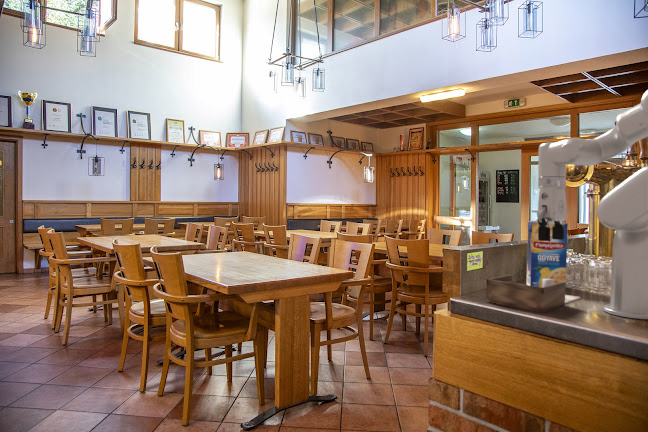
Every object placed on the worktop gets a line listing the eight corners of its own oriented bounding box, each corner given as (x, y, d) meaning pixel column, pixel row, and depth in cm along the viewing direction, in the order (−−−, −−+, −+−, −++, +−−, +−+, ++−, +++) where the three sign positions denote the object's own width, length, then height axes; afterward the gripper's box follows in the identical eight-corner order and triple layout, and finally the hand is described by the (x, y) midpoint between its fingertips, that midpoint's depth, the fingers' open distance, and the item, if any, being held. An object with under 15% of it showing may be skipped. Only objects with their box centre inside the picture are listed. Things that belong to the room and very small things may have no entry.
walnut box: (564, 305, 128) (565, 282, 127) (542, 312, 118) (543, 288, 118) (509, 295, 140) (510, 274, 139) (486, 301, 130) (486, 279, 130)
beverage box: (565, 289, 151) (567, 223, 151) (530, 287, 154) (532, 222, 153) (559, 285, 158) (562, 222, 157) (526, 284, 161) (527, 221, 160)
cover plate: (580, 300, 138) (580, 280, 137) (564, 305, 130) (564, 284, 129) (533, 293, 148) (534, 274, 148) (516, 297, 140) (516, 278, 140)
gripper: (552, 181, 129) (551, 242, 129) (576, 184, 140) (575, 239, 141) (526, 182, 135) (525, 240, 135) (551, 185, 146) (550, 238, 146)
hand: (551, 240), depth 138 cm, fingers open, 9 cm apart
